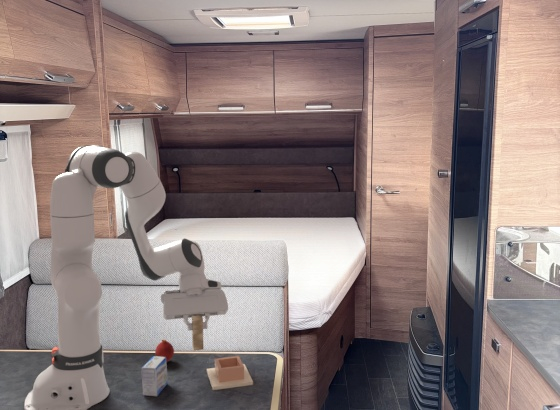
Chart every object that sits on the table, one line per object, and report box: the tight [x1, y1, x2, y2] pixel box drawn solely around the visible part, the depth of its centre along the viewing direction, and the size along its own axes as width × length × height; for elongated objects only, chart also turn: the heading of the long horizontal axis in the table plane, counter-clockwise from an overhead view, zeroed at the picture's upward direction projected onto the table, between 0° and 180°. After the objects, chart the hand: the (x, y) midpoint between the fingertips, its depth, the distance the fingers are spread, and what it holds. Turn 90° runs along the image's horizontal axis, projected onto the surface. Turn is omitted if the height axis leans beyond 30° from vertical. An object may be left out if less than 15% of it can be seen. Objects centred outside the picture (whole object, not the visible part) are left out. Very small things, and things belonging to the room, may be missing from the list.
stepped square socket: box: [206, 355, 254, 391], centre depth 171 cm, size 12×12×5 cm
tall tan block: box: [191, 315, 204, 351], centre depth 175 cm, size 3×3×10 cm
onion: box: [155, 338, 175, 363], centre depth 181 cm, size 6×6×8 cm
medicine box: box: [141, 355, 168, 397], centre depth 164 cm, size 8×4×9 cm, turn 168°
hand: (197, 329), depth 174 cm, fingers closed on tall tan block, 3 cm apart
